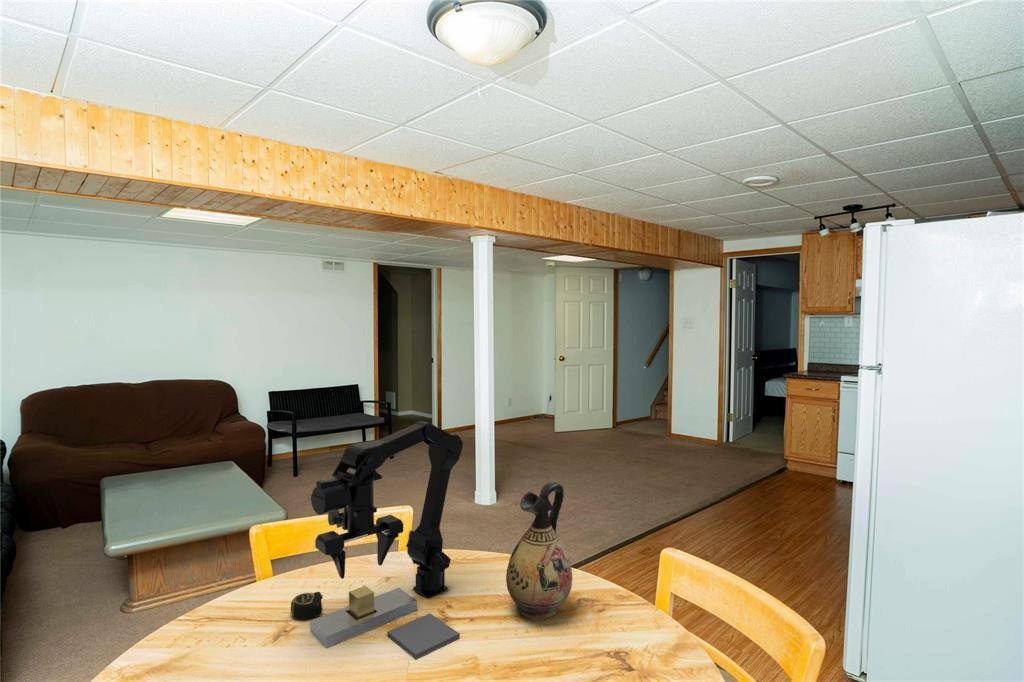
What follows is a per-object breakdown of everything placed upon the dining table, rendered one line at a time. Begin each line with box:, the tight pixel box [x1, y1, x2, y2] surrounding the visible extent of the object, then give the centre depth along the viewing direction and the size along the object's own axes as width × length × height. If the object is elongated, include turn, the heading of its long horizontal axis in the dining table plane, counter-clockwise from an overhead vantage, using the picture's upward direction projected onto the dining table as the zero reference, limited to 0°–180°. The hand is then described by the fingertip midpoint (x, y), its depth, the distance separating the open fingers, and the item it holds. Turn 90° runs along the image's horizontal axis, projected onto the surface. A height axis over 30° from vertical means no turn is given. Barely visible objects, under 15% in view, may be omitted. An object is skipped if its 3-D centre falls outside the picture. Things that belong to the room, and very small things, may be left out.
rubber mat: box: [386, 613, 461, 660], centre depth 118 cm, size 11×11×1 cm
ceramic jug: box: [505, 481, 573, 621], centre depth 129 cm, size 17×15×30 cm
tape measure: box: [290, 591, 324, 620], centre depth 127 cm, size 7×7×4 cm
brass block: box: [348, 585, 375, 620], centre depth 123 cm, size 4×4×7 cm
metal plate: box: [309, 587, 418, 649], centre depth 124 cm, size 22×8×2 cm, turn 133°
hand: (361, 571), depth 123 cm, fingers open, 9 cm apart
